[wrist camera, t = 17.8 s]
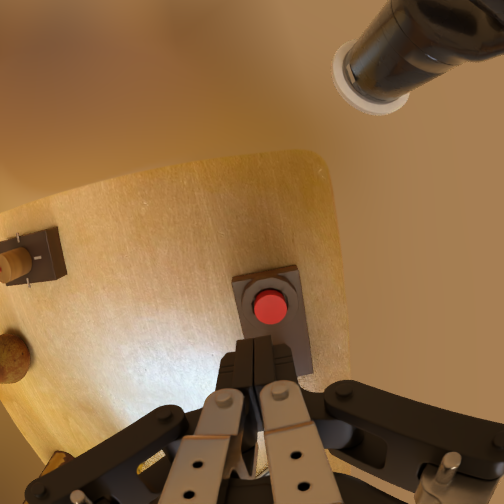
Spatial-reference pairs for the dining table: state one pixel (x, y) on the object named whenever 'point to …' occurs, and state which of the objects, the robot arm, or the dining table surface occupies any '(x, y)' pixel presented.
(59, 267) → the dimmer panel
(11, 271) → the dimmer knob
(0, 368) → the fruit
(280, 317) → the lamp switch
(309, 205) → the dining table surface
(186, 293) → the dining table surface
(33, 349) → the dining table surface
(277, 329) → the lamp base
